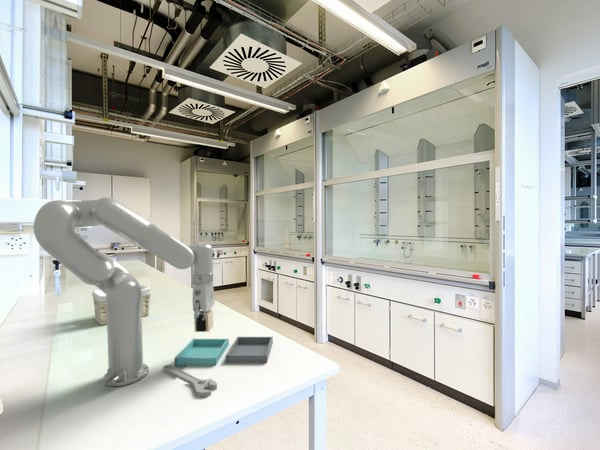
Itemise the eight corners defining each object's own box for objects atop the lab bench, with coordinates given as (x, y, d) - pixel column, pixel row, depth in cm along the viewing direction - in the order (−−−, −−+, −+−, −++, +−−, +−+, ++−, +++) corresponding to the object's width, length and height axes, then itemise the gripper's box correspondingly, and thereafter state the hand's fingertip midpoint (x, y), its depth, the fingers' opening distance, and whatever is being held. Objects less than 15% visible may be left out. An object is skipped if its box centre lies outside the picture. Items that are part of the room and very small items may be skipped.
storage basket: (143, 309, 167) (143, 282, 167) (153, 315, 155) (152, 287, 155) (92, 319, 151) (91, 290, 150) (98, 327, 139) (97, 296, 138)
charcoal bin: (267, 364, 102) (266, 355, 102) (226, 364, 103) (226, 355, 103) (272, 344, 118) (272, 336, 118) (237, 344, 119) (237, 336, 119)
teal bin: (215, 366, 101) (215, 358, 101) (174, 366, 101) (174, 358, 101) (228, 346, 117) (228, 338, 117) (193, 346, 117) (193, 338, 117)
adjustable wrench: (161, 371, 100) (161, 366, 100) (179, 364, 104) (179, 359, 104) (202, 400, 83) (202, 394, 83) (222, 390, 88) (221, 384, 88)
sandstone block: (208, 331, 107) (208, 314, 106) (194, 331, 107) (194, 315, 106) (213, 326, 112) (212, 310, 111) (199, 326, 112) (199, 310, 111)
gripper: (204, 283, 100) (206, 337, 100) (219, 273, 117) (221, 319, 117) (182, 284, 100) (184, 337, 101) (200, 273, 117) (202, 319, 118)
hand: (204, 327), depth 109 cm, fingers closed on sandstone block, 5 cm apart
